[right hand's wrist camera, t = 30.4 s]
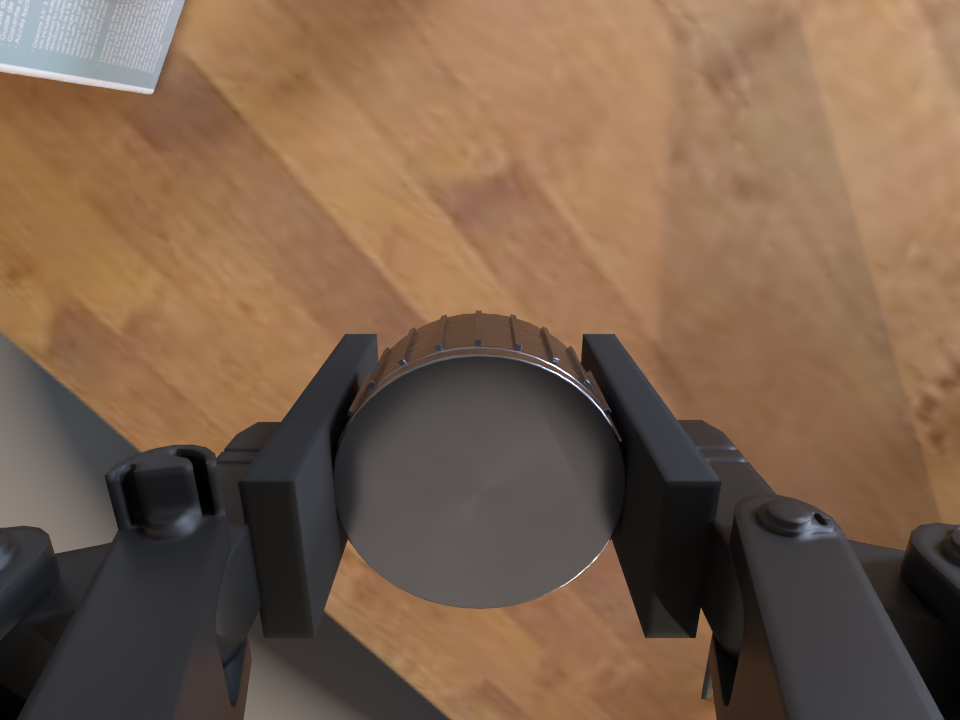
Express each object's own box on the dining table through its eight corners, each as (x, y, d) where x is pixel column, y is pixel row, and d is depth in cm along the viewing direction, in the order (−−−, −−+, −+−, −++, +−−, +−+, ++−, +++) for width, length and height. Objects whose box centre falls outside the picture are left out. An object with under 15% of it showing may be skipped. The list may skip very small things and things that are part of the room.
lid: (593, 292, 11) (623, 329, 9) (609, 516, 13) (638, 596, 10) (331, 328, 11) (294, 373, 9) (383, 542, 13) (362, 626, 11)
